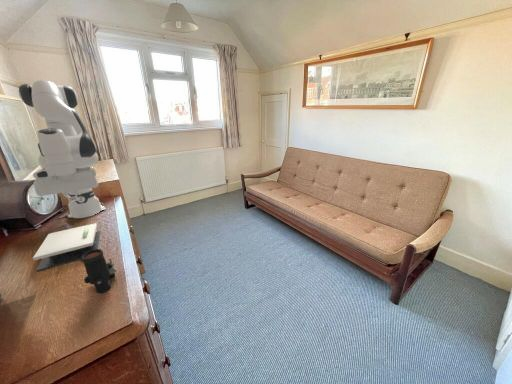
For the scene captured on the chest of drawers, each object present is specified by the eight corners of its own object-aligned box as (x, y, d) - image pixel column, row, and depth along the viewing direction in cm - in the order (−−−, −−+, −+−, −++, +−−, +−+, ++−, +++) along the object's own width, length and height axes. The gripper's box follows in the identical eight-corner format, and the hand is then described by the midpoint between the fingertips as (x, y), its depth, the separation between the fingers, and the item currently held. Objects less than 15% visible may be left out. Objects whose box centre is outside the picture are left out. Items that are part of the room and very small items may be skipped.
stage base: (51, 244, 99) (48, 236, 98) (100, 232, 109) (98, 224, 107) (36, 272, 81) (32, 263, 79) (97, 255, 90) (94, 246, 89)
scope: (107, 241, 74) (107, 255, 66) (117, 273, 79) (118, 290, 71) (78, 249, 70) (74, 265, 62) (90, 282, 75) (88, 302, 67)
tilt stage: (49, 236, 98) (47, 230, 97) (97, 225, 106) (95, 220, 106) (34, 260, 80) (31, 254, 79) (92, 245, 89) (90, 239, 88)
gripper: (94, 164, 95) (102, 193, 100) (32, 171, 86) (44, 203, 90) (93, 167, 90) (102, 197, 95) (27, 175, 80) (40, 208, 85)
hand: (73, 200), depth 92 cm, fingers closed
